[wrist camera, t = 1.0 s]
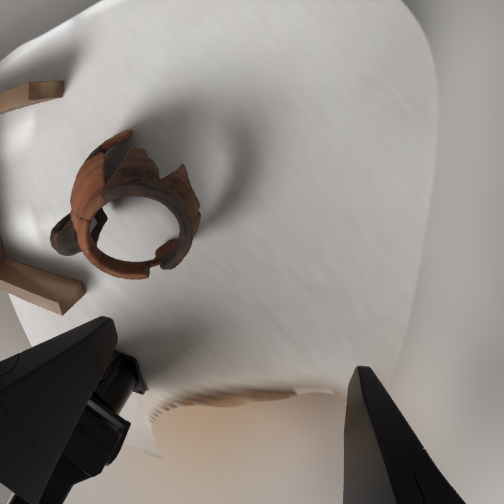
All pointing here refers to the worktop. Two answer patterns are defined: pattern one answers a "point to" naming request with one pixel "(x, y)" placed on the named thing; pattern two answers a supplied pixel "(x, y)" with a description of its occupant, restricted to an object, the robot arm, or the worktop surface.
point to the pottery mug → (120, 185)
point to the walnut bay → (3, 270)
